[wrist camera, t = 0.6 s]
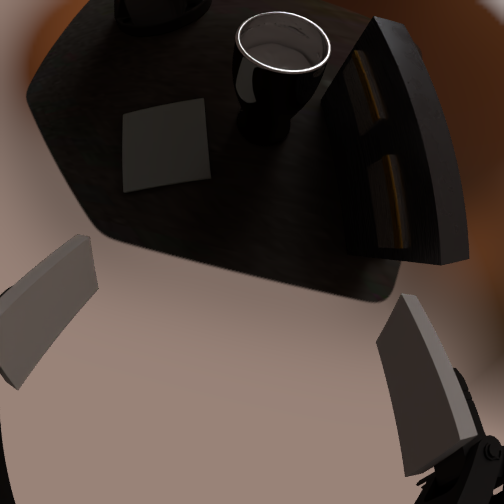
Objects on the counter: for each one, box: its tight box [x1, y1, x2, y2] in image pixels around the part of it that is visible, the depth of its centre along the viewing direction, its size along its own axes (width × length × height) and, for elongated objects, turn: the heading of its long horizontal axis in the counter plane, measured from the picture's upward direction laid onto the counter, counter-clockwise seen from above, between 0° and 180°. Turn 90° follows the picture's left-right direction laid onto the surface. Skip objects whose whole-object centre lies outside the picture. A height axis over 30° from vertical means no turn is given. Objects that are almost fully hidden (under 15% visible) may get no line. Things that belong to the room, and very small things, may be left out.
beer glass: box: [232, 11, 332, 146], centre depth 21 cm, size 7×7×15 cm
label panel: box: [321, 16, 469, 265], centre depth 22 cm, size 19×6×16 cm, turn 7°
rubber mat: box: [122, 98, 211, 193], centre depth 28 cm, size 10×10×1 cm
